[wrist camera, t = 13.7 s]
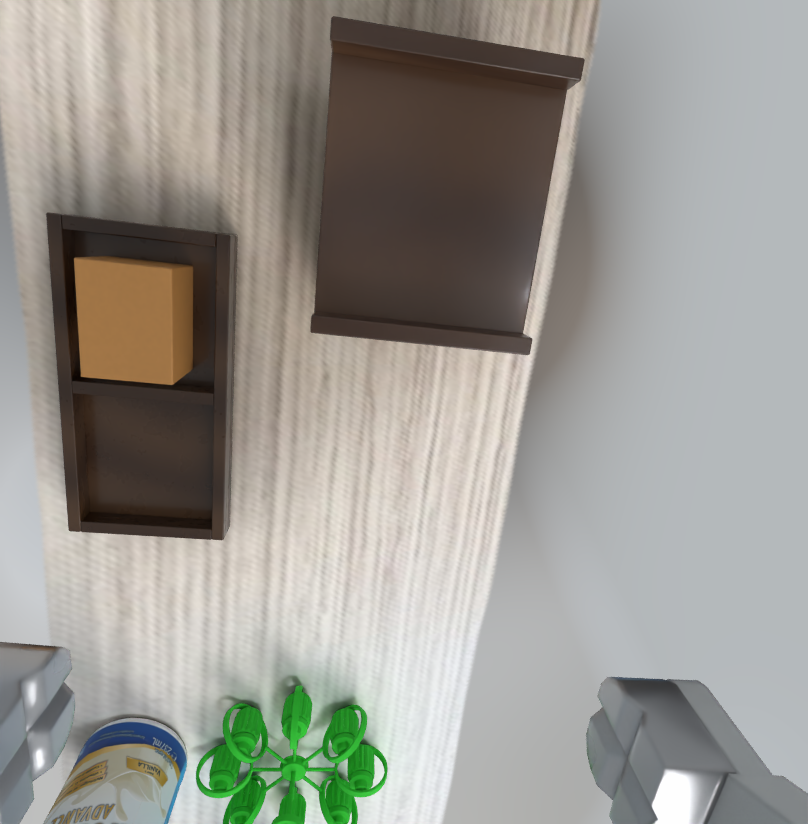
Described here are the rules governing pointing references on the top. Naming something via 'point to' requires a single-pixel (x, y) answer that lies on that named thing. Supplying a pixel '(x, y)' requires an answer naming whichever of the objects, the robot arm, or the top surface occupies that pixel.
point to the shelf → (148, 394)
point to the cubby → (435, 185)
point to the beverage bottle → (123, 776)
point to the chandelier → (292, 764)
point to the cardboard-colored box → (134, 319)
